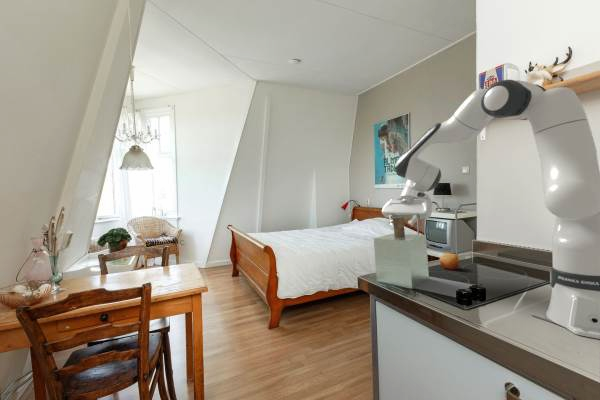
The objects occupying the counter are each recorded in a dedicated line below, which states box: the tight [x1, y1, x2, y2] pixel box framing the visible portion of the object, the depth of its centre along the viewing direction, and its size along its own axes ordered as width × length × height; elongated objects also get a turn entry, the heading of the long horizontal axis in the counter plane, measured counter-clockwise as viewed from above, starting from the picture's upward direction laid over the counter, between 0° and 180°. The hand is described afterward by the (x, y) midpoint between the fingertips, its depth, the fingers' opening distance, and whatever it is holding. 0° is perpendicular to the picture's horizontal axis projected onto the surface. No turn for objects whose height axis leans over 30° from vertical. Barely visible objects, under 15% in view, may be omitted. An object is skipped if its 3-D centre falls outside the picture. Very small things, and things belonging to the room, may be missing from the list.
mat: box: [413, 276, 474, 298], centre depth 106 cm, size 17×17×1 cm
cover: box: [373, 217, 430, 290], centre depth 115 cm, size 15×15×26 cm
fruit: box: [439, 252, 460, 271], centre depth 129 cm, size 8×8×8 cm
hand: (400, 224), depth 114 cm, fingers open, 7 cm apart
